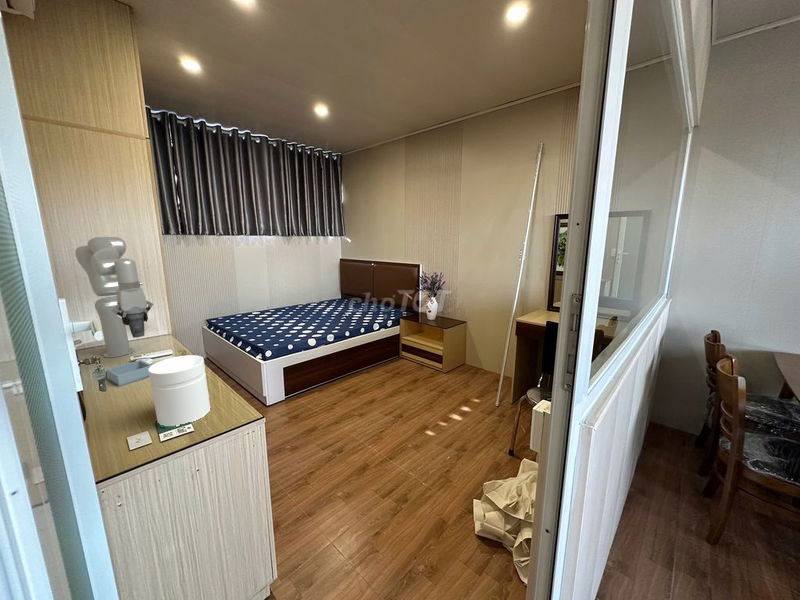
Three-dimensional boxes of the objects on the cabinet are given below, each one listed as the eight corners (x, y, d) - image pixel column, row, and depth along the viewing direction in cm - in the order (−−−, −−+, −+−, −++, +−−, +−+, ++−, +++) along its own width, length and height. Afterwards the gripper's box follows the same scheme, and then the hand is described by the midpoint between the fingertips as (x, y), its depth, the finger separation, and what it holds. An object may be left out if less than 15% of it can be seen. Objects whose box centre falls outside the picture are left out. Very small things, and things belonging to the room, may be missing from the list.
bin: (108, 379, 144) (106, 369, 143) (142, 369, 155) (140, 359, 154) (119, 386, 137) (117, 376, 136) (154, 375, 148) (153, 365, 147)
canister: (153, 416, 115) (143, 364, 111) (202, 399, 126) (195, 351, 122) (163, 434, 104) (153, 378, 100) (217, 414, 116) (209, 363, 112)
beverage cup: (140, 338, 150) (132, 296, 146) (124, 338, 150) (116, 297, 146) (152, 333, 157) (144, 293, 153) (137, 334, 157) (129, 294, 153)
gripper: (147, 283, 158) (153, 318, 161) (101, 288, 143) (109, 326, 146) (154, 284, 154) (160, 319, 157) (108, 289, 139) (116, 328, 143)
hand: (136, 322), depth 152 cm, fingers closed on beverage cup, 6 cm apart
